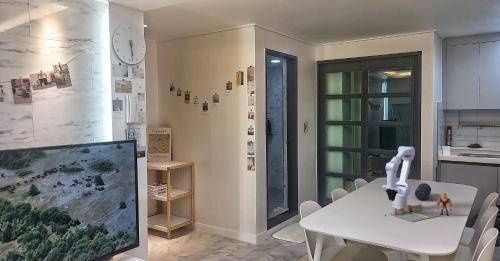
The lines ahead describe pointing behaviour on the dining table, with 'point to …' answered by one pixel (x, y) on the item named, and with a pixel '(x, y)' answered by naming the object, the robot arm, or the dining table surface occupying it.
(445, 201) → the action figure
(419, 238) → the dining table surface
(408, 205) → the hinge post
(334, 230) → the dining table surface
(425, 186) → the portable speaker
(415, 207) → the fixed fence section
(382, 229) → the dining table surface
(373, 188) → the dining table surface
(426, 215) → the board
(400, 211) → the tan piece
